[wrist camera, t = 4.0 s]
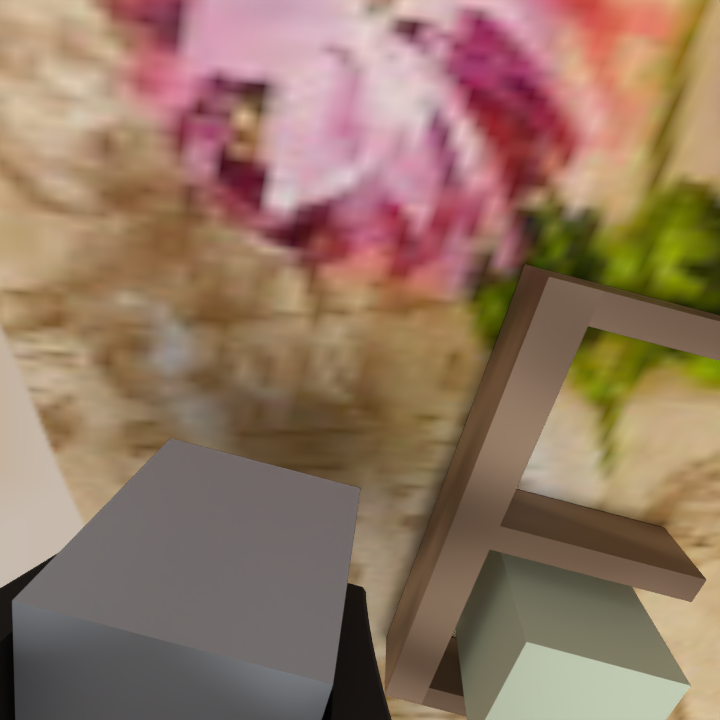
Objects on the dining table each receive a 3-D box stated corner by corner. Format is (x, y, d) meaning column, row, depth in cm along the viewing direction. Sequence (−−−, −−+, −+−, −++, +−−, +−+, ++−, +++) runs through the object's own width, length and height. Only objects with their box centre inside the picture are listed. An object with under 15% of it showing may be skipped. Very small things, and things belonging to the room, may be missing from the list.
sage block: (565, 646, 20) (616, 786, 15) (453, 617, 20) (470, 746, 15) (615, 559, 18) (690, 685, 13) (493, 526, 18) (526, 642, 13)
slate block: (319, 627, 13) (274, 862, 9) (153, 584, 13) (17, 794, 9) (360, 488, 12) (332, 684, 7) (170, 438, 12) (12, 601, 7)
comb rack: (570, 685, 20) (592, 749, 18) (386, 637, 20) (384, 695, 18) (782, 331, 14) (856, 357, 12) (524, 263, 14) (549, 276, 12)
